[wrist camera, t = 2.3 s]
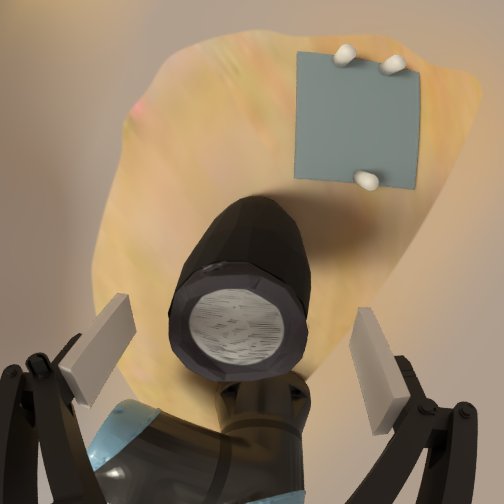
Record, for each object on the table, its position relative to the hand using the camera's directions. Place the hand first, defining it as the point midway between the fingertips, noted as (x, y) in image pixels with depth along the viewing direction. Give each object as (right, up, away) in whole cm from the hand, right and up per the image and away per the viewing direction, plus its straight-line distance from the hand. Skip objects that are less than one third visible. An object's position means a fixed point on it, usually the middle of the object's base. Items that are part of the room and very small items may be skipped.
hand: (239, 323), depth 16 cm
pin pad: (+12, +18, +12) cm, 25 cm away
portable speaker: (+1, +7, +17) cm, 19 cm away
